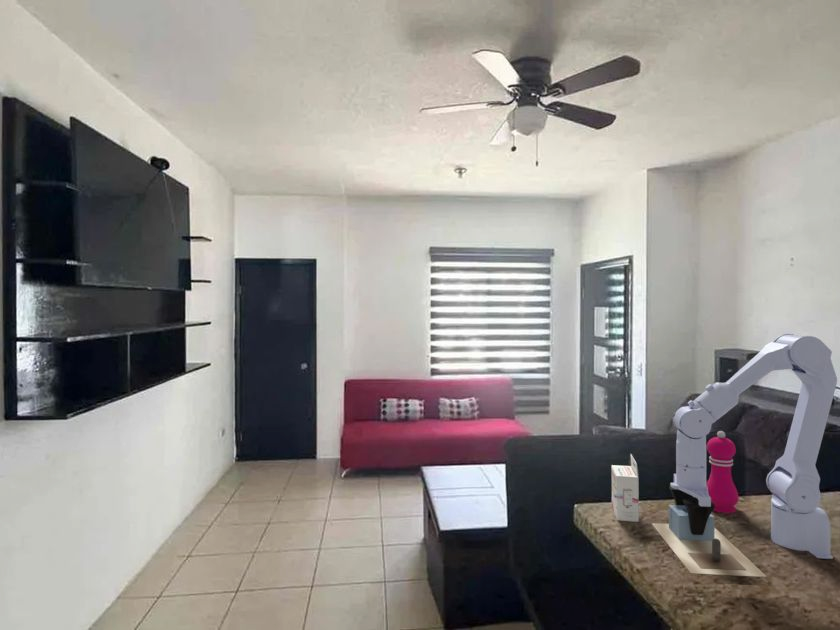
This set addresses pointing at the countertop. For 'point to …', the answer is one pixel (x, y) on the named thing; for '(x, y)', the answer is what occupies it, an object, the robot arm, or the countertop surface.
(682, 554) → the base plate
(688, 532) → the block
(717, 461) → the pepper mill
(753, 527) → the countertop surface
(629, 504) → the ink cartridge box
